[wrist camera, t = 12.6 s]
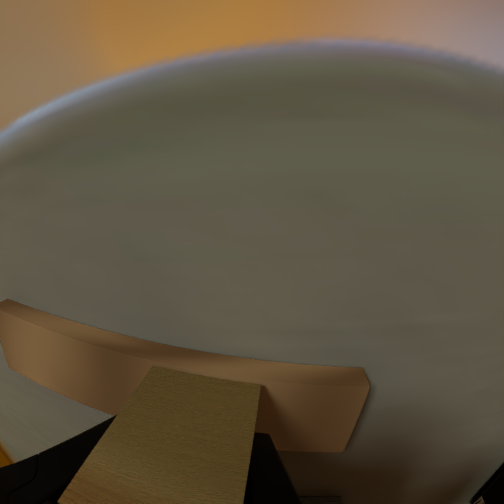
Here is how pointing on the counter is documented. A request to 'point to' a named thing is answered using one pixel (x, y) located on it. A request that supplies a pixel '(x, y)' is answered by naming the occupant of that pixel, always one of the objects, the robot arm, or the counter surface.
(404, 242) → the counter surface
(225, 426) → the handle
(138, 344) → the rail
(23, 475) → the robot arm
